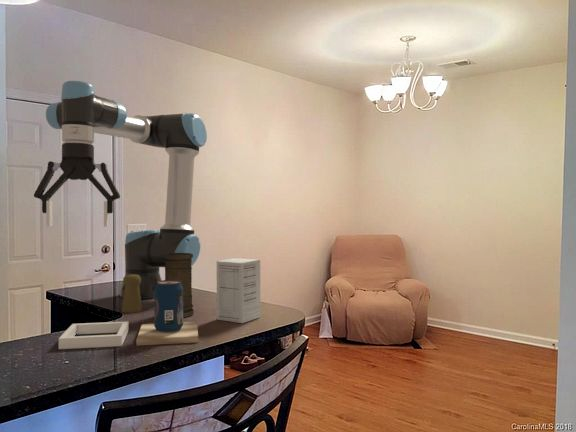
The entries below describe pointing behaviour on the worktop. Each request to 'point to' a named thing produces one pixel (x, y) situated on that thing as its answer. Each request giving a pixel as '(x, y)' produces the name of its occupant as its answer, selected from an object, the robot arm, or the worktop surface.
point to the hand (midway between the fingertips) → (78, 226)
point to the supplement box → (238, 290)
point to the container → (181, 276)
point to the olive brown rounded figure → (132, 294)
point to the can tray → (72, 341)
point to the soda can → (168, 306)
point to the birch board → (167, 335)
